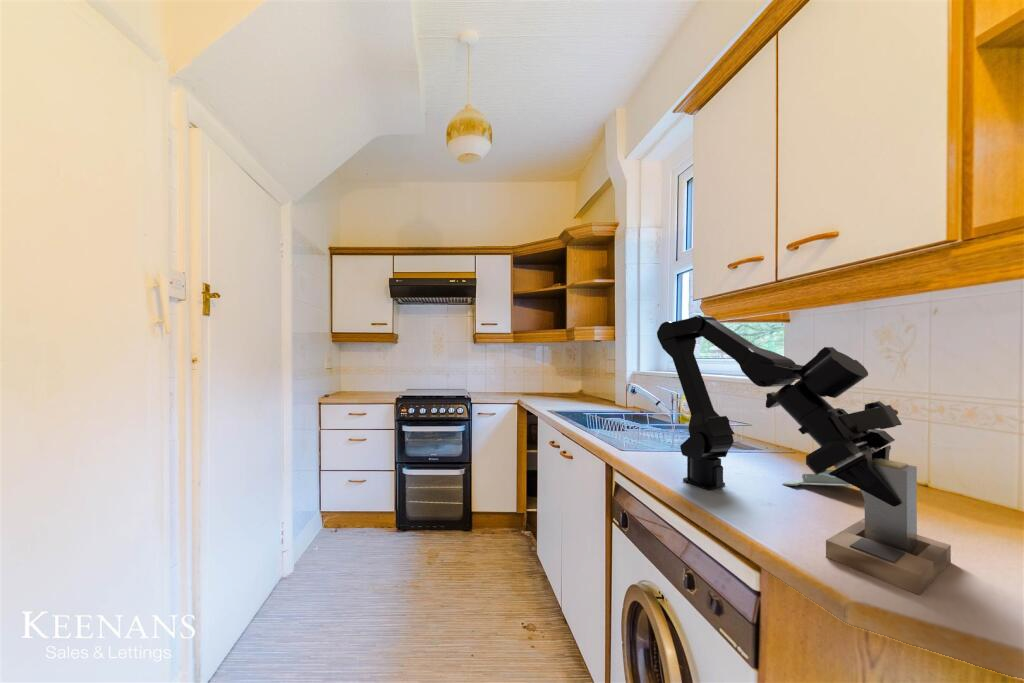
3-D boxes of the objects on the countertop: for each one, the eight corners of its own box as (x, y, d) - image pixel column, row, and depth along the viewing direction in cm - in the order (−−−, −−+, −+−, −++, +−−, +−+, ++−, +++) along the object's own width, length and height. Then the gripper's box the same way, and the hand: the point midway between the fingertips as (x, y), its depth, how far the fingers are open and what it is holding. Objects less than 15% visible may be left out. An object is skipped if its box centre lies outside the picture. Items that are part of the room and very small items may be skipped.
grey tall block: (864, 541, 56) (864, 460, 56) (875, 534, 58) (875, 456, 58) (907, 556, 52) (906, 469, 52) (916, 547, 54) (916, 464, 54)
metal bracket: (881, 467, 79) (848, 477, 73) (892, 495, 78) (859, 508, 71) (807, 467, 92) (773, 475, 85) (815, 491, 90) (781, 502, 83)
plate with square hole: (825, 557, 54) (825, 538, 54) (863, 533, 61) (863, 517, 61) (919, 595, 46) (919, 573, 46) (950, 562, 53) (950, 543, 53)
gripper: (832, 387, 54) (946, 488, 44) (878, 382, 63) (980, 465, 53) (771, 429, 61) (859, 524, 51) (821, 419, 70) (903, 498, 60)
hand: (903, 501), depth 54 cm, fingers closed on grey tall block, 4 cm apart
